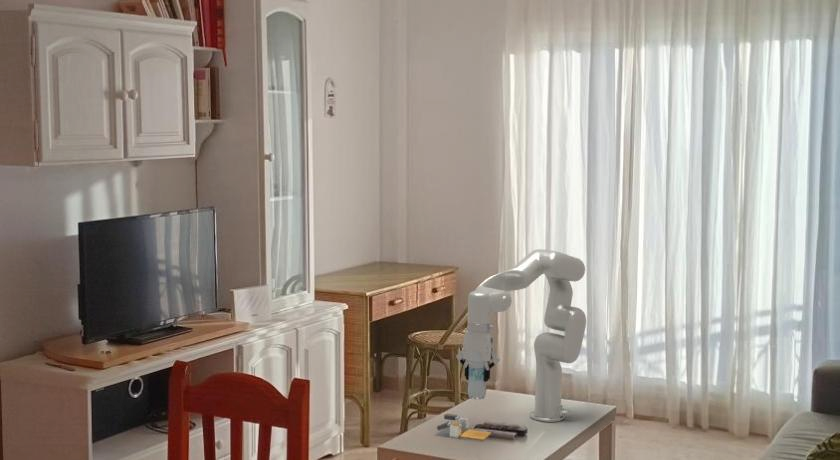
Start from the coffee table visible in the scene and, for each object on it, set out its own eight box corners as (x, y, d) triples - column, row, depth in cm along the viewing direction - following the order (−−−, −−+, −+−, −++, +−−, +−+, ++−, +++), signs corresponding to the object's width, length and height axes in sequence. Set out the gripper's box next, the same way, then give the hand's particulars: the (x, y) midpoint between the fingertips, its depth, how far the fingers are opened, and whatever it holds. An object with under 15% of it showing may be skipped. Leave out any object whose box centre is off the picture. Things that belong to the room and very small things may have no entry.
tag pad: (491, 433, 355) (491, 432, 355) (483, 440, 347) (483, 439, 347) (467, 430, 358) (467, 429, 358) (459, 436, 350) (459, 436, 350)
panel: (493, 434, 357) (494, 419, 357) (482, 444, 345) (482, 428, 344) (447, 428, 363) (447, 413, 363) (434, 438, 351) (435, 422, 351)
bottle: (488, 396, 353) (490, 339, 351) (483, 401, 347) (485, 343, 345) (470, 394, 356) (471, 337, 353) (464, 399, 349) (465, 341, 347)
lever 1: (452, 424, 352) (451, 420, 352) (450, 426, 350) (448, 422, 350) (440, 428, 354) (439, 425, 354) (437, 430, 352) (436, 427, 352)
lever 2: (459, 419, 360) (459, 415, 360) (457, 420, 357) (457, 417, 357) (446, 417, 362) (446, 413, 362) (443, 419, 359) (444, 415, 359)
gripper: (506, 328, 349) (504, 380, 351) (458, 323, 355) (456, 374, 357) (499, 332, 342) (498, 385, 344) (450, 327, 348) (449, 379, 350)
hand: (477, 379), depth 351 cm, fingers closed on bottle, 5 cm apart
